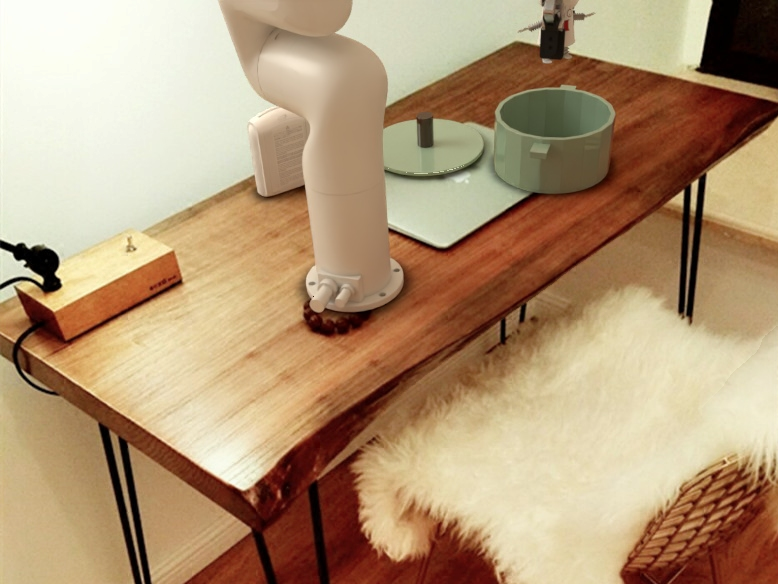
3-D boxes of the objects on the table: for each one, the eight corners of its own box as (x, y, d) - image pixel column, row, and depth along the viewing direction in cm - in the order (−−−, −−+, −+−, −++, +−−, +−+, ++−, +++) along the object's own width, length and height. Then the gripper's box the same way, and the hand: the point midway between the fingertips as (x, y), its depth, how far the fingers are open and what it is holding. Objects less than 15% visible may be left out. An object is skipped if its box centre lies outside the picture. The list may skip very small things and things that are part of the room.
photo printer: (311, 169, 141) (302, 92, 133) (325, 179, 139) (316, 101, 130) (252, 190, 137) (238, 112, 129) (265, 201, 135) (252, 122, 126)
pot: (619, 137, 144) (625, 85, 138) (595, 209, 128) (601, 154, 123) (513, 126, 149) (514, 76, 143) (477, 195, 133) (477, 141, 127)
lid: (496, 131, 148) (496, 95, 144) (466, 185, 135) (466, 148, 131) (390, 120, 153) (388, 85, 148) (351, 172, 140) (348, 135, 136)
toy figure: (528, 73, 124) (529, 8, 118) (508, 60, 128) (508, -3, 122) (604, 55, 127) (609, -10, 121) (582, 43, 131) (586, -20, 125)
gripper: (583, -74, 107) (571, 76, 119) (606, -112, 119) (594, 27, 131) (520, -76, 109) (515, 71, 121) (550, -114, 121) (542, 24, 133)
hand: (556, 47), depth 126 cm, fingers closed on toy figure, 6 cm apart
